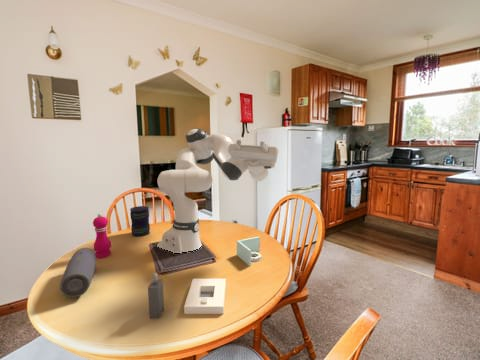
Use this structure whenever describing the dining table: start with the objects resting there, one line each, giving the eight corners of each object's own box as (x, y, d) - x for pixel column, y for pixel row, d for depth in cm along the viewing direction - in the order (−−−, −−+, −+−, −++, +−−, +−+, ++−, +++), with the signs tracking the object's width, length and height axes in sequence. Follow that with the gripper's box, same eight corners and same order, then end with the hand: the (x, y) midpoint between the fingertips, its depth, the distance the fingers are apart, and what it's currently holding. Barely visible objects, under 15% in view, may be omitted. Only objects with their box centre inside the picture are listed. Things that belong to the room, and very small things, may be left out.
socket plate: (193, 284, 94) (192, 277, 94) (225, 284, 94) (225, 277, 94) (184, 314, 78) (184, 304, 78) (223, 313, 78) (223, 304, 78)
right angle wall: (249, 267, 109) (249, 250, 107) (236, 256, 119) (236, 240, 118) (272, 261, 114) (273, 245, 113) (258, 251, 125) (258, 236, 123)
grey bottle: (154, 308, 81) (152, 270, 79) (163, 308, 81) (162, 270, 79) (149, 318, 76) (147, 278, 74) (159, 318, 76) (157, 278, 74)
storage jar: (146, 237, 141) (144, 210, 138) (128, 236, 141) (126, 210, 138) (152, 230, 150) (151, 206, 148) (136, 230, 151) (134, 206, 148)
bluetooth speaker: (72, 271, 103) (69, 248, 102) (98, 267, 107) (96, 244, 106) (59, 304, 83) (56, 275, 81) (92, 297, 87) (89, 269, 85)
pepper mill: (98, 252, 122) (95, 211, 118) (114, 251, 122) (111, 211, 119) (91, 259, 114) (87, 216, 111) (108, 258, 115) (104, 215, 112)
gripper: (233, 151, 113) (226, 133, 101) (280, 155, 107) (277, 136, 95) (230, 164, 110) (222, 147, 98) (277, 168, 105) (275, 151, 93)
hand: (250, 142), depth 97 cm, fingers open, 8 cm apart
